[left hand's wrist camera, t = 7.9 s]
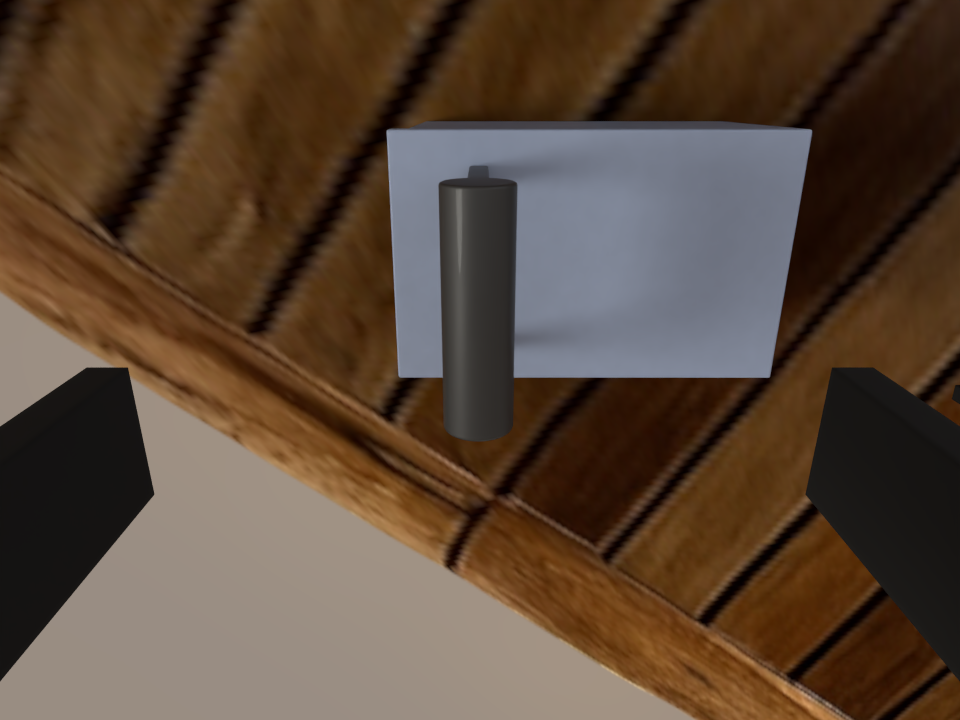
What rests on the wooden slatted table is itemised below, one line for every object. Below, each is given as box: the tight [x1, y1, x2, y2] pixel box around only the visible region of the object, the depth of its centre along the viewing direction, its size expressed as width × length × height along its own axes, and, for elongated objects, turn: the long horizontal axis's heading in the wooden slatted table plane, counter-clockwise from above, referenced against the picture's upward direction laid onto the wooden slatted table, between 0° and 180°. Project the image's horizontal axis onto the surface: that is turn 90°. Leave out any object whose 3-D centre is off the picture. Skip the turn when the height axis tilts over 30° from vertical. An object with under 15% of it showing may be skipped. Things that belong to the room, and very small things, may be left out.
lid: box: [387, 129, 812, 441], centre depth 22 cm, size 15×10×8 cm, turn 90°
